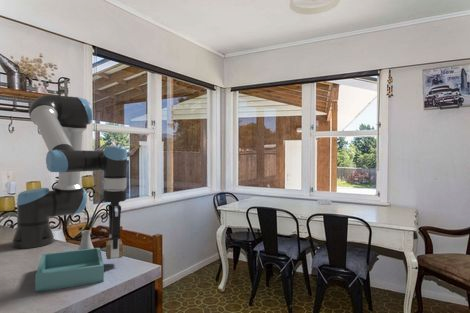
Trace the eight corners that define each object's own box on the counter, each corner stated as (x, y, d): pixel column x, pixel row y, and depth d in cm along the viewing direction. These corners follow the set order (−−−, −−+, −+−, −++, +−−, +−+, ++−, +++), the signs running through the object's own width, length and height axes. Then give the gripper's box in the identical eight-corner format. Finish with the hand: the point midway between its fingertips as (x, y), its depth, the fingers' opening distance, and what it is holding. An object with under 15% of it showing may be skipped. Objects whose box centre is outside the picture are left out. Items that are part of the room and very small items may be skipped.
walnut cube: (105, 254, 113) (106, 240, 113) (120, 252, 116) (120, 239, 115) (106, 259, 109) (107, 244, 109) (122, 257, 111) (122, 243, 111)
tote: (42, 268, 108) (42, 254, 108) (99, 261, 116) (99, 247, 116) (35, 292, 90) (35, 275, 90) (103, 281, 98) (103, 265, 98)
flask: (88, 261, 115) (88, 234, 115) (70, 259, 117) (70, 233, 116) (100, 255, 122) (100, 229, 122) (83, 253, 124) (84, 228, 124)
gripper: (101, 186, 118) (100, 248, 119) (105, 193, 102) (104, 265, 102) (123, 186, 121) (121, 246, 122) (129, 192, 105) (128, 262, 106)
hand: (113, 254), depth 112 cm, fingers closed on walnut cube, 5 cm apart
